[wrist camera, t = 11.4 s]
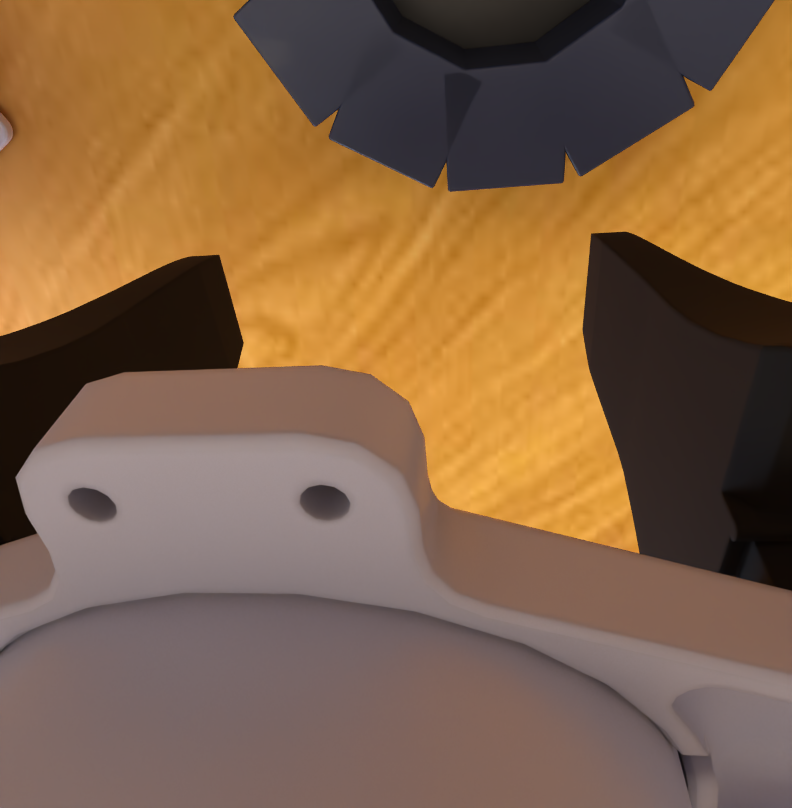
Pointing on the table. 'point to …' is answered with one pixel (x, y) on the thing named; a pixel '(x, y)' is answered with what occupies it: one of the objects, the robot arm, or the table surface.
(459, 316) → the table surface
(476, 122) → the hoop
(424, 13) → the peg stand
